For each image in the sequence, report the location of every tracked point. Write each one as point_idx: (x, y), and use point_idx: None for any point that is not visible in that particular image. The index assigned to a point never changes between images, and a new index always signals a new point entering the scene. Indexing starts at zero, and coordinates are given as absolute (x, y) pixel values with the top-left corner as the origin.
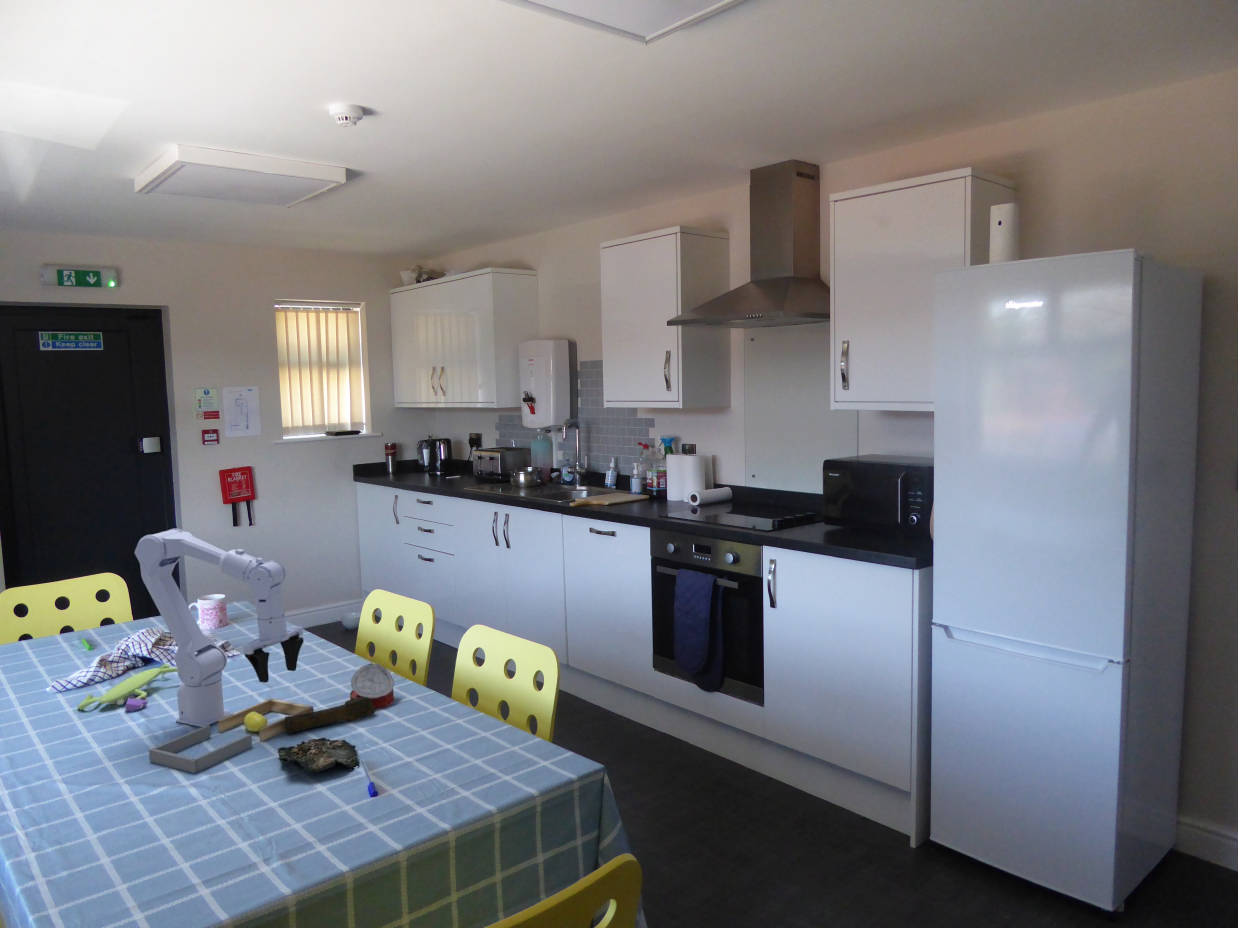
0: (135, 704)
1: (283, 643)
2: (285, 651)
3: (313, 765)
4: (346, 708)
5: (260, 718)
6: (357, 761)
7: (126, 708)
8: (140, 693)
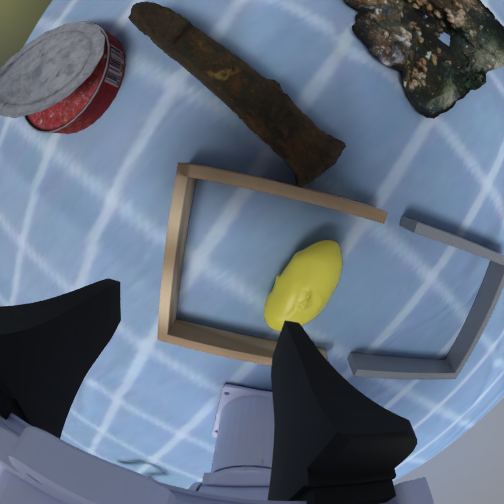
0: None
1: (52, 425)
2: (72, 384)
3: (479, 11)
4: (196, 29)
5: (327, 264)
6: None
7: None
8: None
